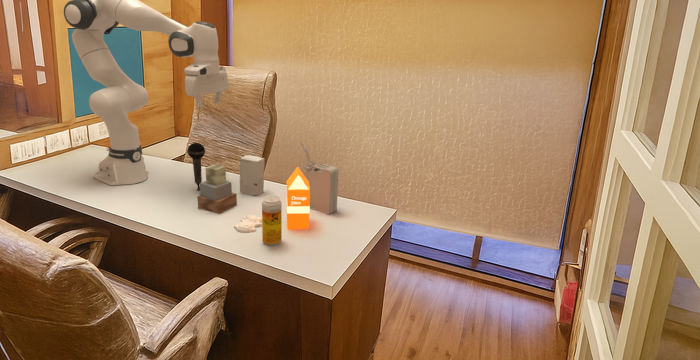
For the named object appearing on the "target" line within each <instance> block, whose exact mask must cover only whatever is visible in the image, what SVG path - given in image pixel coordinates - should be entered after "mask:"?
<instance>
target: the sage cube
mask: <svg viewBox="0 0 700 360" xmlns="http://www.w3.org/2000/svg"><path fill="white" fill-rule="evenodd" d="M226 168H227V167H226V166H225V165H221V164H217V163H214V164H211V165H209V166H207V167H205V181H206V183H208V184H212V185H216V186H218V185H220V184H222V183H225V182H226V181H227V170H226Z"/></svg>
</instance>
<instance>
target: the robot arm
mask: <svg viewBox="0 0 700 360" xmlns="http://www.w3.org/2000/svg"><path fill="white" fill-rule="evenodd" d="M63 16H64V19H65V21H66V23H67V24H68V25H69V26H71V27H72V28H75V29H74V31H73V32H72V34H71V39H72V43H73V46H74V48H75V51H76V53H77V55H78V57H79V59H80V61H81V62H82V65H83V66H84V68H85V70H86V71H87V73H88V75H89V77H90V78H91V79H92V80H93V81H96V82H98V83H100V84H101V85H103V86H104V87H105V88H101V89H98V90H96V91H95V92H93V93H91V94H90V95H89V99H88V104H89V105H88V106H89V107H90V110H91V112H93V113H94V114H95V116H97V117H99V118H100V119H101V120H102V121H103V123H104V124H105V126H106V129H107V131H108V137H109V144H110V147H107V148H106V151H107V152H108V155H107V156H106V157H105V158H104V159H102V160H101V161H100V162H99V163H98V172H95V173H94V174H93V175H92V178H93V179H95V180H98V181H100V182H102V183H104V184H106V185H109V186H119V185H123V186H124V185H133V184H138V183H142V182H144V181H146V180H148V178H149V176H148V174H149V171H148V170H147V168H146V164H145V159H144V156H143V147H142V145H141V142H140V141H141V139H140V131H139V128H138V126H137V125H136V124H134V123H133V122H131V121H130V119H129V115H128V113H132V112H135V111H138V110H141V109H142V108H143V107H145V106H147V104H148V102H149V93H148V91H147V89H146V88H145V87H144V86H143V85H140V84H139V83H137V82H135V81H134V80H133V79H131V78H130V77H129V76H128V75H127V74H126V73H125V72H124V71H123V69H122V68H121V67H120V66H119V64H118V63H117V61H116V59H115V58H114V56H113V54H112V52H111V51H110V49H109V46H108V45H107V43H106V42H105V39H104V35H109V34H111V32H112V31H113V30H115V28H117V27H118V26H119V24H120V25H121V26H123V27H125V28H128V29H131V30H134V31H136V32H137V31H139V32H155V33H162V34H165V35H167V36H168V37H169V38H168V40H167V41H168V42H167V43H168V48H169V51H170V52H171V53H172V54H173V55H174V56H175V57H178V58H191V57H193V62H192V63H191V64H190V65H188V66H187V67H185V68H184V74H185V77H184V89H185V93H186V96H189V97H194V100H195V102H196V105H197V107H198V108H204V102H203V101H202V96H204V95H208V94H214V93H215V94H216V95H215V97H214V99H213V101H214V102H213V103H214V104H220V103H221V98H222V96H223V92H224V91H228V89H229V85H230V84H229V77H228V74H227V70H226V68H225V67H224V66H223V65H221V66H220V58H219V52H218V51H219V37H218V31H217V28H216V26H215V25H214V24H212V23H210V22H206V21H200V20H199V21H194V22H193V23H192V24H191V25H189V26H188V25H185V24H184V23H181V22H179V21H177V20H175V19H173V18H171V17H169V16H167V15H165V14H163V13H161V12H160V11H158V10H156V9H154V8H152V7H151V6H149V5H147V4H146V3H144V2H142V1H140V0H69V1H67V3H65V5H64V7H63Z"/></svg>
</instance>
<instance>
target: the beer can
mask: <svg viewBox="0 0 700 360" xmlns="http://www.w3.org/2000/svg"><path fill="white" fill-rule="evenodd" d="M282 210H283V209H282V200H281V198H280V197H279V196H275V195H269V196H264V198H263V199H262V201H261V217H262V229H261V230H262V231H261V232H262V235H261V236H262V237H261V238H262V242H263V244H265V245H267V246H272V247H273V246H276V245H279V244H280V243H281V242H282V239H283V238H282V233H283V232H282V223H283V221H282V218H283V217H282Z"/></svg>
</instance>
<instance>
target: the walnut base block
mask: <svg viewBox="0 0 700 360" xmlns="http://www.w3.org/2000/svg"><path fill="white" fill-rule="evenodd" d="M237 195H238V194H237V193H236V192H233V191H232V195H230V196H227V197H225V198H222V199H219V200H217V201H214V200H211V199H208V198H206V197H203V196H200V195H198V196H197V197H196V198H197V209H199V210H203V211H207V212H210V213H214V214H218V215H221V214H223V213H225V212H226V211H228V210H230V209H232V208H234V207H236V206H238V198H237Z"/></svg>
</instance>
